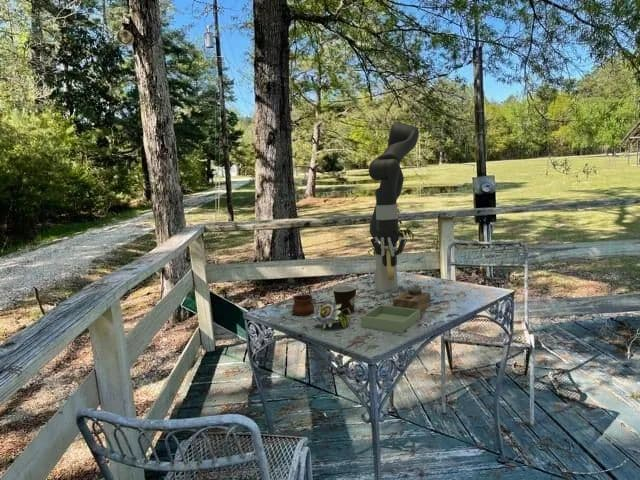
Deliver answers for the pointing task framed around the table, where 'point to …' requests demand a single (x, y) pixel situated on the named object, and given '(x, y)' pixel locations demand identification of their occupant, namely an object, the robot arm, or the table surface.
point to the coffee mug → (345, 298)
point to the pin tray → (390, 318)
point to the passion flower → (330, 314)
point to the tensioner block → (413, 299)
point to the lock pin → (389, 265)
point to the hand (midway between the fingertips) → (389, 265)
